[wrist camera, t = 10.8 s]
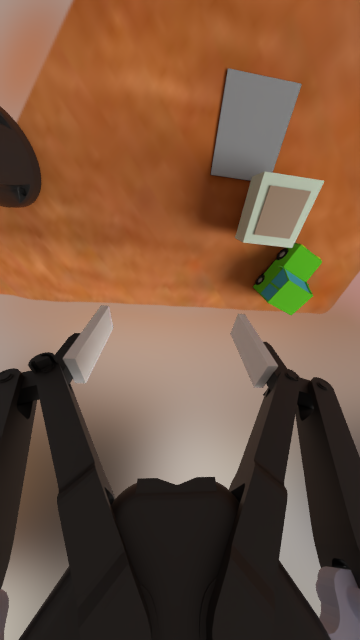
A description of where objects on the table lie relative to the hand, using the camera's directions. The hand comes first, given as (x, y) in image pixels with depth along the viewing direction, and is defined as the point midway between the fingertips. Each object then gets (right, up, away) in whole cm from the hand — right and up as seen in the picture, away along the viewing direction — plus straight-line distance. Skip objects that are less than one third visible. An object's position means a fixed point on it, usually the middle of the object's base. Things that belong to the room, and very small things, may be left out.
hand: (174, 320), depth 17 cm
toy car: (+28, +13, +27) cm, 41 cm away
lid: (+18, +21, +15) cm, 32 cm away
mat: (+13, +33, +12) cm, 37 cm away
